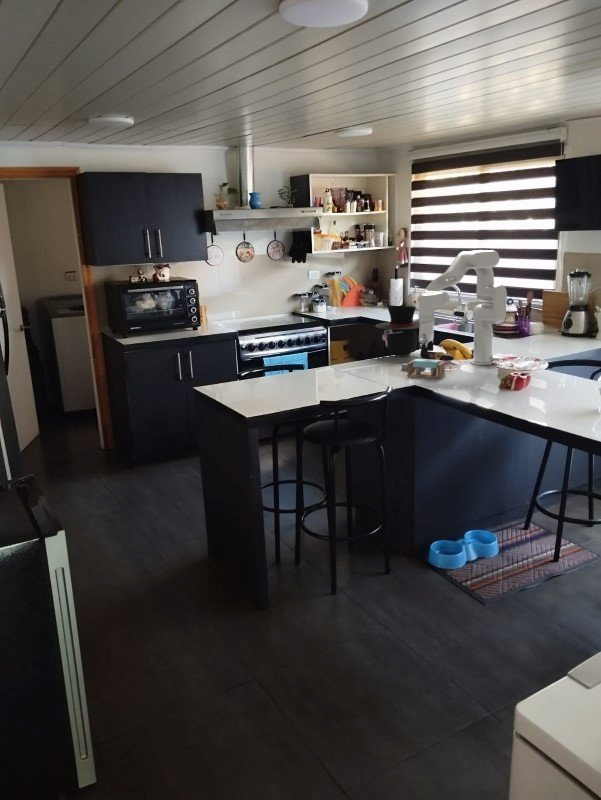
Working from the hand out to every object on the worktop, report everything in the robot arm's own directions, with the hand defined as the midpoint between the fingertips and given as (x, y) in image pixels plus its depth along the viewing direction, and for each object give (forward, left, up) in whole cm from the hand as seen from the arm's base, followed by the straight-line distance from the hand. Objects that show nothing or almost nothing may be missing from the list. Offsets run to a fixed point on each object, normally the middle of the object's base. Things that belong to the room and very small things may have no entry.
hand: (427, 352), depth 311 cm
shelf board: (0, +1, -7) cm, 7 cm away
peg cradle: (0, +1, -12) cm, 12 cm away
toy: (+28, -45, -12) cm, 55 cm away
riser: (+10, -10, -12) cm, 19 cm away
